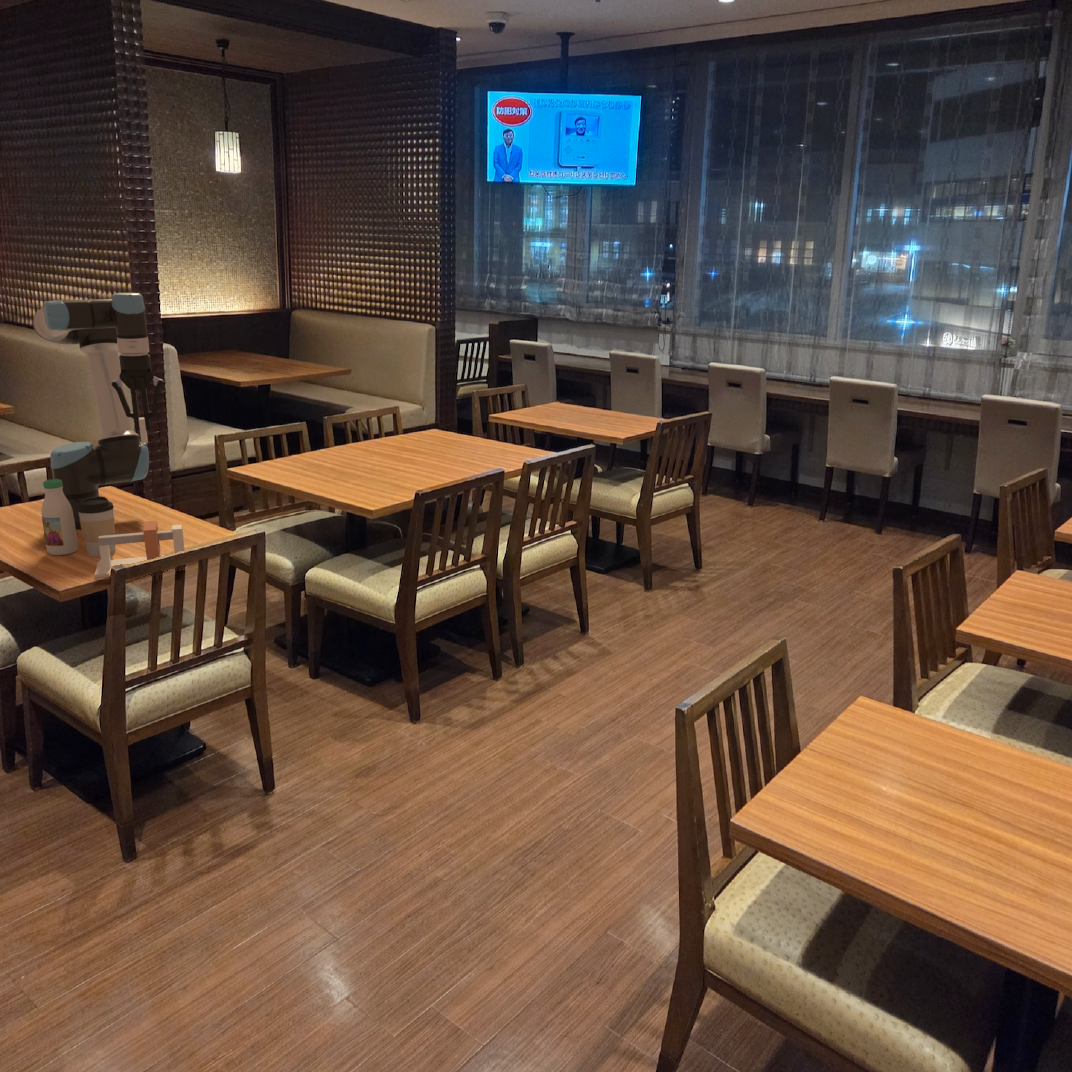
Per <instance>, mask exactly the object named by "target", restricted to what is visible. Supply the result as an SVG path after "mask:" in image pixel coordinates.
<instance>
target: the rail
mask: <svg viewBox="0 0 1072 1072" xmlns="http://www.w3.org/2000/svg"><path fill="white" fill-rule="evenodd" d="M157 539H158V541H159V542H161V541H170V540H173V551H174V554H175V553H177V552H179V551H184V550H185V549H186V548H185V541H184V531H183V524H181V523H179V524H172V526H171V529H169V530H168V529H167V530H165V529H164V530H158V531H157ZM98 540H99V549H100V556H101V557H100V560H98V561H97V564H96V568H95V572H94V578H95V577H99V578H107V577H109V574H110V571H111V566H114V565H120V564H132V563H137V562H140V561H144V560H147V557H146V556H138V557H127V558H126V557H125V558H117V559H111V558H112V557H111V555H110V549H109V545H114V544H115V545H122V544H136V543H145V540H144V532H143V531H142V532H130V533H118V534H115V535H105V536H99V538H98ZM185 551H186V550H185ZM164 555H165V554H163V555H161V554H160V557H162V556H164ZM187 569H188V565H187V566H186V567H185V569H184V570H187ZM172 571H176V570H175V569H170V570H168V571H167V572H172Z"/></svg>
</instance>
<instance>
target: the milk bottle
mask: <svg viewBox="0 0 1072 1072" xmlns="http://www.w3.org/2000/svg"><path fill="white" fill-rule="evenodd" d="M42 484H43V490H44V492H45V493H44V498H43V502H42V505H41V520H42V527H43V534H44V535H43V536H44V540H45V541H44V542H45V547H46V548H45V549H46V552H47V554H48V555H51V556H66V555H70V554H73V553H75V552H77V551H78V550H79V543H78V537H77V530H76V529H75V522H74V516H73V511H72V507H71V505H70V503H69V501H68V500H67V498H66V497H65V495H64V493H63V490H62V488H63V483H62V480H60V479H53V478H52V479H51V478H50V479H46V480H44V481H42Z"/></svg>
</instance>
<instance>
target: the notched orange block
mask: <svg viewBox="0 0 1072 1072" xmlns="http://www.w3.org/2000/svg"><path fill="white" fill-rule="evenodd" d="M143 525H144V526H143V531H142V532H144V540H145V542H144V547H145V548H144V549H145V557H147V560H151V559H154V558H156V557H160V555H161V546H160V545H161V543H160V541H158V539H157V531H159V528H158V526H159V525H158V520H150V521H144V523H143Z"/></svg>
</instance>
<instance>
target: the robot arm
mask: <svg viewBox="0 0 1072 1072" xmlns="http://www.w3.org/2000/svg"><path fill="white" fill-rule="evenodd" d="M32 327H33V329H34V332H35V333H36V334H37V336H39V337H40V338H42V339H43V340H45V341H47V342H49V343H53V344H58V345H79V349H80V352H81V353H82V354H84V355H86V356H87V362H88V367H89V373H90V378H91V382H92V388H93V393H94V399H95V403H96V410H97V415H98V421H99V425H100V429H101V435H100V436H99V438H98V439H97V443H98V445H95V446H94V444H92V442H90V441H74V442H71V443H67V444H63V445H59V446H58V447H56V448H54V449H53V450H52V451H51V452H50V456H49V457H50V469H51V471H52V472H51V473H52V479H60V480H62V483H63V488H62V490H63V493H64V495H65V497H66V498H67V500H68V501H69V503H70V505H71V507H72V511H73V516H74V522H75V529H81V524H80V520H79V519H80V517H79V513H78V511H77V509H78V508H77V507H78V505H80V503H81V501H83V500H86V499H91V498H96V497H99V496H100V493H99V486H104V485H111V484H119V483H127V482H128V483H129V482H130V483H132V482H134V481H135V482H136V481H141V480H144V479H145V478H146V477H147V475H148V472H149V466H150V465H149V464H150V462H149V461H150V457H149V456H150V455H149V448H148V432H147V431H151V427H152V425H151V418H152V417H155V416H156V415H157V408H158V404H159V403H158V402H159V395H160V389H161V388H162V385H164V379H162V378H159V377H157V376H155V374H154V372H153V370H152V363H151V355H150V354H149V352H150V344H149V336H148V329H147V327H148V326H147V318H146V305H145V301H144V296H143V295H142V294H141V293H139V292H137V293H136V292H119V293H118V292H117V293H113V294H112V297H111V298H97V299H95V298H93V299H65V300H61V299H55V300H47V301H45V302H44V304H43V307H42V308H40V309H39V310H37V311H36V312H35V313H34V315H33V318H32ZM119 354H120V355H119ZM152 381H153V386H154V392H153V398H152V405H151V410H150V408H149V401H148V399H149V398H148V390H147V388H148V387H150V385H151V383H152ZM125 386H126V387H127V389H129V391H130V396H131V398H130V399H131V405H132V410H131V408H130V405H129V403H128V400H127V399H128V398H127V395H126V390H125V388H126V387H125ZM137 390H139V391H140V393H141V394H140V395H141V399H142V400H141V402H142V409H143V417H140V414H139V405H138V404H139V403H138V395H137ZM131 418H132V419H133V422H134V428H135V429H134V430H135V431H137V432H140V433H137V432H135V431H134V430H133V425H132V420H131Z"/></svg>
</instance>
